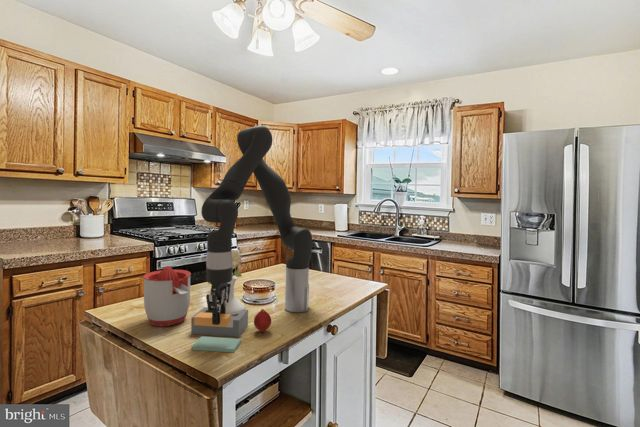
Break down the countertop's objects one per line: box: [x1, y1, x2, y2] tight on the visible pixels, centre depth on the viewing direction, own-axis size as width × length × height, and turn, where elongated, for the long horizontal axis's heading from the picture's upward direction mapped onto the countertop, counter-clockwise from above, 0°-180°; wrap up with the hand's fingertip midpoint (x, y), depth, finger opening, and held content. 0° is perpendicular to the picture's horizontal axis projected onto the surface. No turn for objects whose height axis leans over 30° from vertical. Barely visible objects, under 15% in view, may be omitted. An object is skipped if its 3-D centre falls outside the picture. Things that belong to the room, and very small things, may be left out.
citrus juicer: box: [142, 265, 192, 328], centre depth 121 cm, size 16×17×20 cm
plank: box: [194, 312, 232, 327], centre depth 103 cm, size 10×4×2 cm, turn 85°
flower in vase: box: [226, 249, 246, 316], centre depth 130 cm, size 13×11×25 cm
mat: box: [190, 335, 242, 353], centre depth 104 cm, size 13×7×1 cm, turn 85°
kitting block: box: [190, 306, 249, 338], centre depth 116 cm, size 16×10×6 cm, turn 85°
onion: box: [253, 308, 272, 333], centre depth 114 cm, size 6×6×8 cm
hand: (219, 321), depth 103 cm, fingers closed on plank, 3 cm apart
